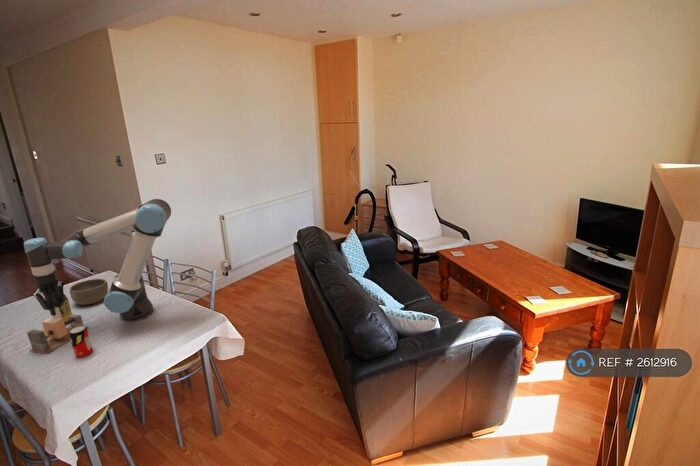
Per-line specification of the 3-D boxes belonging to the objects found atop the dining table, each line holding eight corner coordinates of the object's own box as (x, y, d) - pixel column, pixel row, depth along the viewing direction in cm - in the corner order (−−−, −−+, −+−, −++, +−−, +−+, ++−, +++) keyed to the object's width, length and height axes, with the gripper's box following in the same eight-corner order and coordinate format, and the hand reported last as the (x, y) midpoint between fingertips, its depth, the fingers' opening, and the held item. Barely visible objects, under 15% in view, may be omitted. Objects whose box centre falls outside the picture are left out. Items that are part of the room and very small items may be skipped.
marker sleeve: (67, 333, 167) (62, 318, 165) (59, 338, 163) (54, 323, 161) (55, 332, 168) (50, 316, 166) (46, 337, 165) (41, 321, 162)
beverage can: (82, 349, 160) (75, 325, 156) (96, 349, 160) (89, 325, 156) (71, 358, 154) (64, 333, 150) (86, 358, 154) (79, 333, 150)
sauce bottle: (65, 326, 178) (54, 289, 172) (55, 324, 180) (43, 288, 173) (77, 319, 184) (66, 283, 178) (67, 317, 186) (56, 282, 179)
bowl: (102, 290, 214) (98, 275, 211) (116, 298, 204) (112, 282, 201) (68, 302, 201) (63, 286, 198) (80, 312, 191) (75, 294, 188)
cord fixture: (71, 326, 178) (66, 308, 175) (88, 328, 176) (83, 310, 173) (29, 351, 159) (23, 332, 156) (48, 354, 157) (41, 334, 154)
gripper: (51, 266, 166) (65, 312, 173) (21, 278, 154) (37, 327, 161) (65, 267, 164) (78, 313, 172) (35, 280, 152) (51, 329, 160)
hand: (58, 320), depth 167 cm, fingers closed
